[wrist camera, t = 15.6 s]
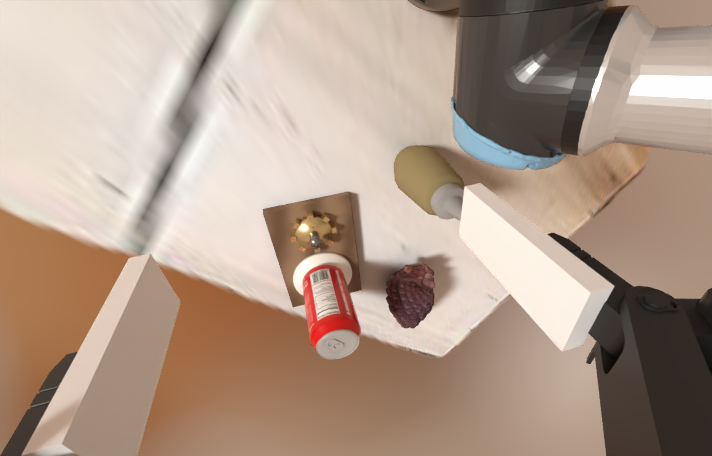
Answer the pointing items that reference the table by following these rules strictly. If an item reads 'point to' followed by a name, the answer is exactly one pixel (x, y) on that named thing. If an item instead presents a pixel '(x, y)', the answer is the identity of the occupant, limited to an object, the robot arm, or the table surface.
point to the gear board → (291, 256)
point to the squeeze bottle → (429, 181)
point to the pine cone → (411, 294)
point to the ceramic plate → (318, 260)
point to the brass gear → (313, 232)
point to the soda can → (330, 312)
